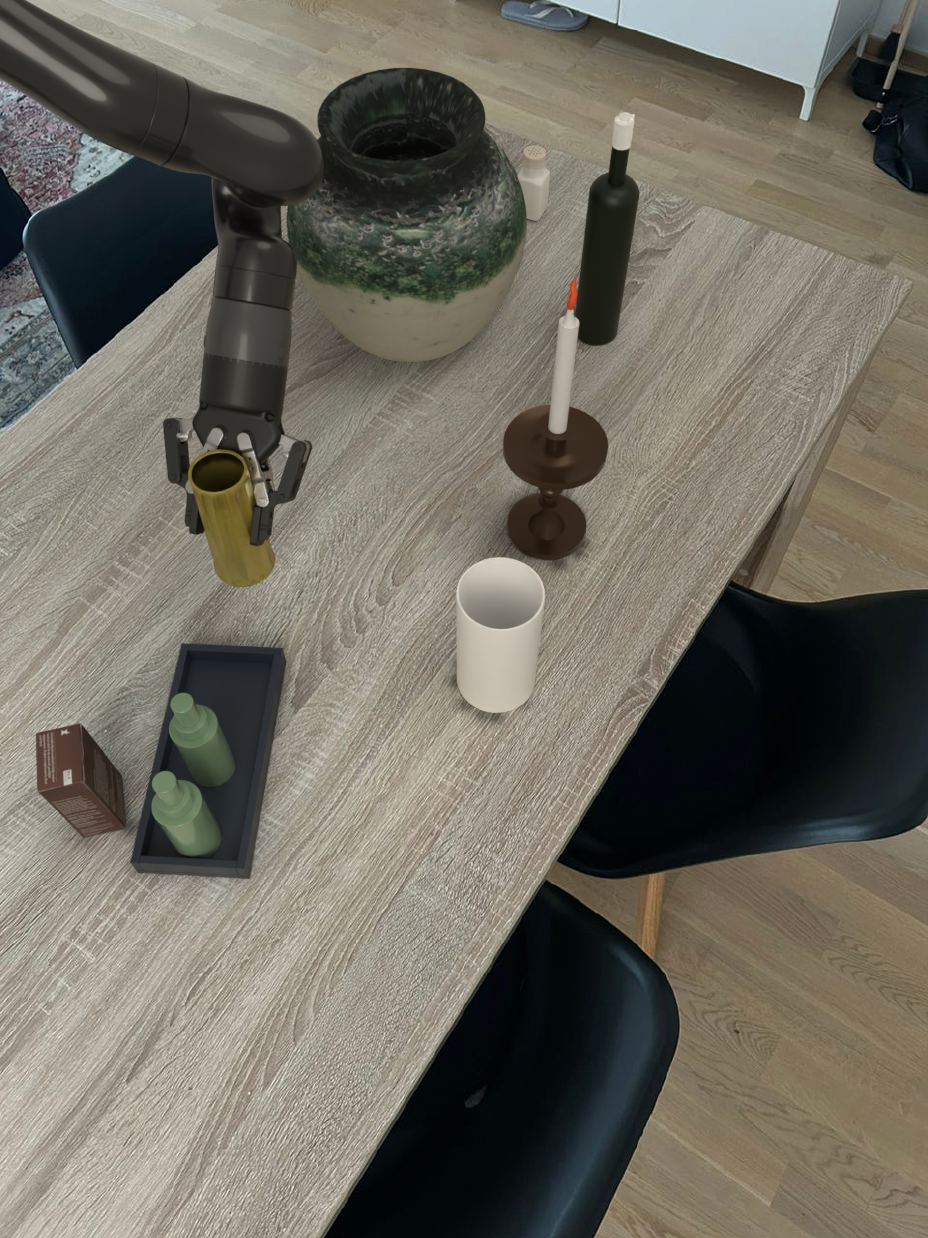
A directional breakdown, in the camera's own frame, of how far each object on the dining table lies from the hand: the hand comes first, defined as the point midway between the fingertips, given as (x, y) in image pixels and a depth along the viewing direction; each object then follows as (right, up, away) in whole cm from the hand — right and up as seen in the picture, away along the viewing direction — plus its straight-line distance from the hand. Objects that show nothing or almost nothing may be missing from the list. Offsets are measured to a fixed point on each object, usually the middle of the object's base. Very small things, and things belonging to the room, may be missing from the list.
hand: (226, 538), depth 98 cm
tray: (-2, -22, +6) cm, 23 cm away
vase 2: (+16, +31, +39) cm, 52 cm away
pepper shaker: (+32, +51, +52) cm, 80 cm away
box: (-13, -26, +4) cm, 29 cm away
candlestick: (+32, +3, +22) cm, 39 cm away
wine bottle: (+40, +30, +39) cm, 63 cm away
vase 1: (0, -2, +7) cm, 7 cm away
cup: (+26, -14, +11) cm, 31 cm away
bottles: (-3, -25, +3) cm, 26 cm away
